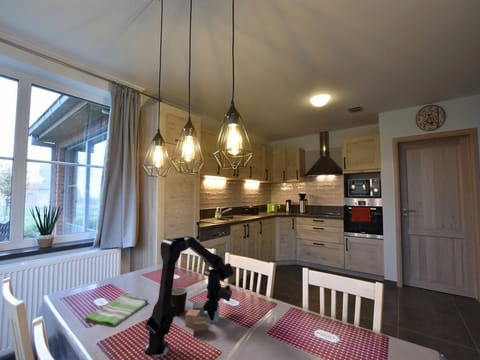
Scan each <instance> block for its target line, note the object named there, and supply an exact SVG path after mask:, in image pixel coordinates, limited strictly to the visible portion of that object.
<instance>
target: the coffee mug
mask: <svg viewBox="0 0 480 360" xmlns="http://www.w3.org/2000/svg"><path fill="white" fill-rule="evenodd" d="M187 295H188V289H187V288H186V287H181V286H179V287H174V288H173V289H172V297H171V303H172V304H173V305H175V306H176V310H175V316H180V315H183V314H184V313H185V311H186V303H187Z"/></svg>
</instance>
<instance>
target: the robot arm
mask: <svg viewBox="0 0 480 360" xmlns="http://www.w3.org/2000/svg"><path fill="white" fill-rule="evenodd" d="M188 249H190V250H191V251H192V252H194V253H195V254H196V255H197V256H199V257H200V258H201V259H202V261H203V263H204V264H205V265H206V266H207V267H209V268H207V269H206V270H205V271H204V272H203V274H204V275H206V276H207V286H206V290H207V295H206V299H207V300H205V303H204V305H203V311H204V312H206V314H207V313H208V315H209V317H210V319H211V321H213V320H214V315H215V311H218V307H219V308H220V305H219V304H220V303H219V302H220V301H221V300H222V299H223V300H225V301H227V302H230V300H231V297H232V294H233V291H232V289H231V285H228V284H227V285H226V286H224V287H223V286H222V284H221V281H224V280H226V279H230V278H232V277H233V276H234V270H233V267H232V266H231V265H232V264H231V263H228V262H226V263H224V261H223V260H224V259H223V257H222V256H220V255H217V254H216V253H213V252H212V251H210V250H209V249H207V248H206V247H205V246H204V245H203V244H202V243H200V242H199V241H198V240H196V238H195V237H194V236H190V235H186V236H182V237H181V236H180V237H173V238H165V239H163V241H162V242H161V244H160V257H161V261H162V269H161V275H160V276H161V277H160V282H159V283H160V284H159V290H158V299H157V301H156V303H155V305H154V306H153V309H152V313H151V315H150V317H149V318H148V319H147V321H146V322H145V324H144V327H145V329H146V330H147V331H148V346H147V348H146V349H145V350H144V354H145V355H163V353H164V351H165V349H166V348H167V345H168V343H169V341H166V336H167V335H168V334H169V333H170V330H171V327H172V324H173V322H174V318H176V315H175V310H176V306H175V305H173V304H172V303H171V297H172V289H174V288H173V287H174V279H175V271H176V263H177V261H178V260H179V258H180V256H181V253H182V252H184V251H186V250H188ZM210 268H211V269H210Z"/></svg>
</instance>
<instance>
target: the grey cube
mask: <svg viewBox="0 0 480 360" xmlns="http://www.w3.org/2000/svg"><path fill="white" fill-rule="evenodd" d="M219 319H220V306H219V307H218V311H215V315H214V320H213V321H211V319H210V317H209V315H208V313H207V312H206V323H210V324H211V323H214V324H216V323H217V324H218V323H219Z"/></svg>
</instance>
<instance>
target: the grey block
mask: <svg viewBox="0 0 480 360" xmlns="http://www.w3.org/2000/svg"><path fill="white" fill-rule="evenodd" d="M205 302H206V301H205ZM205 302H201V301H200V302H193V305H192V309H193V310H200V317H205V316H204V315H205V311H203V305H204V303H205Z"/></svg>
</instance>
